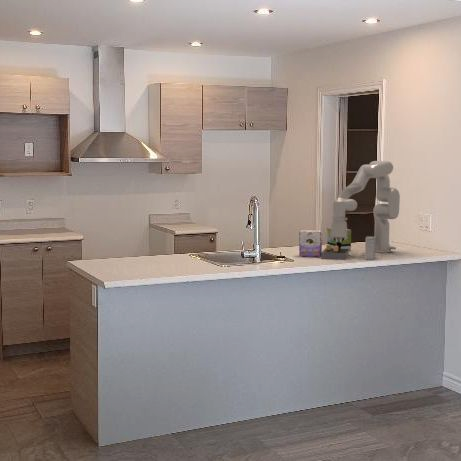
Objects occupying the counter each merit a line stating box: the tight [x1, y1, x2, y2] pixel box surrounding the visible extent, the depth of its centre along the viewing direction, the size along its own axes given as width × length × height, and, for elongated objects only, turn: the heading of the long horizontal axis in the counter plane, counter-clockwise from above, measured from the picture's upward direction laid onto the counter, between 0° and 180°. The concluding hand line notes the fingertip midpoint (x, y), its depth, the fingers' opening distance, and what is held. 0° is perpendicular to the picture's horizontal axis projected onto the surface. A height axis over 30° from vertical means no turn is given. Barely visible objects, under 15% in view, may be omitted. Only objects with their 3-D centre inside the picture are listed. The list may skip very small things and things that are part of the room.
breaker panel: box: [320, 247, 350, 261], centre depth 460 cm, size 15×20×4 cm
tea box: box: [326, 227, 352, 252], centre depth 488 cm, size 15×10×15 cm, turn 25°
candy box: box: [298, 229, 323, 258], centre depth 462 cm, size 14×6×16 cm, turn 74°
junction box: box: [364, 235, 376, 261], centre depth 454 cm, size 5×12×13 cm, turn 165°
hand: (338, 248), depth 459 cm, fingers closed
